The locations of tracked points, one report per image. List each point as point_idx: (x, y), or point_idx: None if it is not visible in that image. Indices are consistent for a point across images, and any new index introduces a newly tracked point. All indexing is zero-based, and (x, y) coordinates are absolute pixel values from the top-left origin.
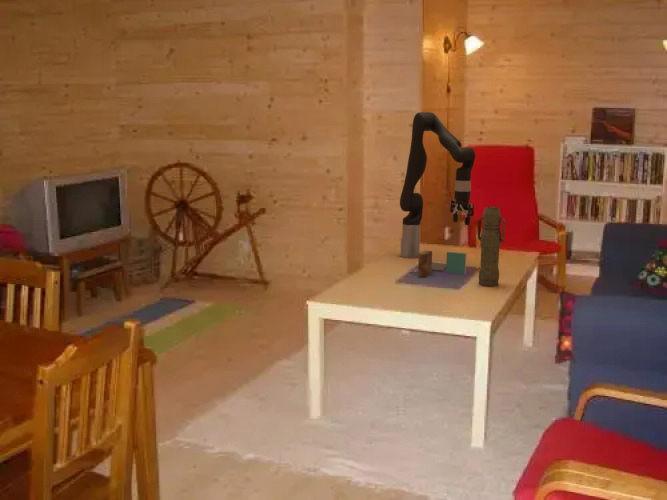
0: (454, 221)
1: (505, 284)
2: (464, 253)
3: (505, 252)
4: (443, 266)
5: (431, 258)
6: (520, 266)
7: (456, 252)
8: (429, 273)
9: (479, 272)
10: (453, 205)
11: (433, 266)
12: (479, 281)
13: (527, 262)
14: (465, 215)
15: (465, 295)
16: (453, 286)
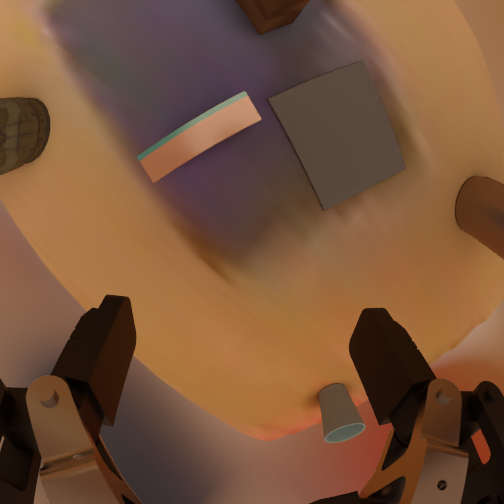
0: (368, 314)
1: (10, 180)
2: (145, 157)
3: (307, 417)
4: (312, 157)
5: (265, 4)
6: (169, 370)
7: (196, 134)
8: (246, 11)
9: (9, 98)
10: (495, 489)
11: (338, 123)
12: (30, 99)
13: (199, 402)
14: (65, 408)
15: (6, 8)
16: (70, 7)
